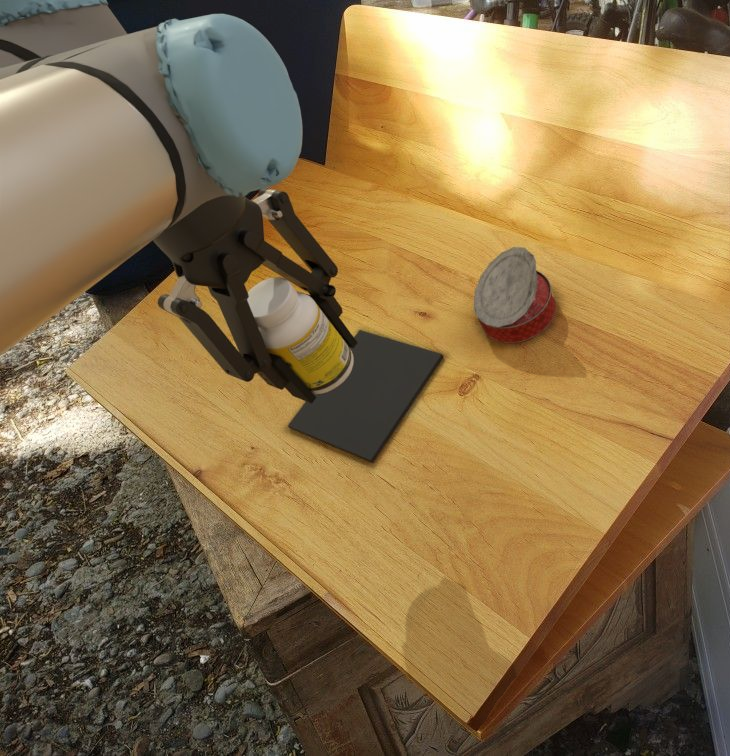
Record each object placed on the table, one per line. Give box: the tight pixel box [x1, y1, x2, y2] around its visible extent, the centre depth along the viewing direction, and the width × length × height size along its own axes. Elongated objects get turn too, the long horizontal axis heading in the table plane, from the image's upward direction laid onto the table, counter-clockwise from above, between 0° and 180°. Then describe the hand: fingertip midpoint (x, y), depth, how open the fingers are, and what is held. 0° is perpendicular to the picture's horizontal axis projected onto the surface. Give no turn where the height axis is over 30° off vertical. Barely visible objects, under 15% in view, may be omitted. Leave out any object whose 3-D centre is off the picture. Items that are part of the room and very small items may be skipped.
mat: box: [287, 329, 444, 463], centre depth 85 cm, size 16×14×1 cm
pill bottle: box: [247, 276, 354, 394], centre depth 63 cm, size 6×6×11 cm
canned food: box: [473, 246, 557, 344], centre depth 83 cm, size 11×10×10 cm
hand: (325, 368), depth 67 cm, fingers closed on pill bottle, 6 cm apart
